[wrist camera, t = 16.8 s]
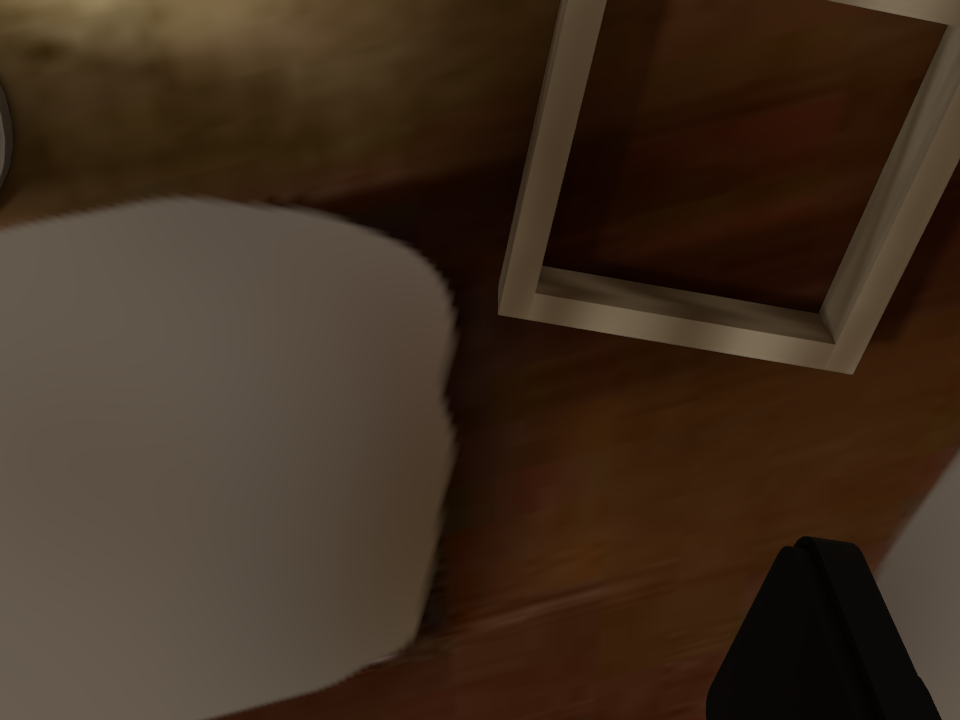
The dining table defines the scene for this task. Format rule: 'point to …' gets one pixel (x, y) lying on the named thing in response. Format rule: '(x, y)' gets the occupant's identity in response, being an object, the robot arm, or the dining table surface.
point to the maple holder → (718, 320)
